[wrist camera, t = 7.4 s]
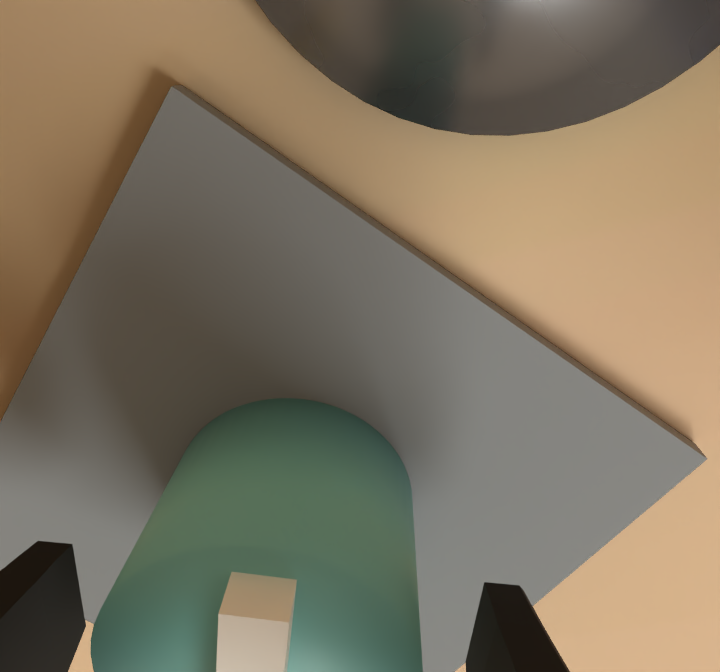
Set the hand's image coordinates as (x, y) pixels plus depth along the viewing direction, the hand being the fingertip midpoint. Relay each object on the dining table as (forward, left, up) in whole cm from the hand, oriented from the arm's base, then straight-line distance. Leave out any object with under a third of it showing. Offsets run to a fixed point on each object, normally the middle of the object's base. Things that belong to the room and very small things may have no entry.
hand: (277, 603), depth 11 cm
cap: (0, 0, -2) cm, 2 cm away
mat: (0, 0, -3) cm, 3 cm away
